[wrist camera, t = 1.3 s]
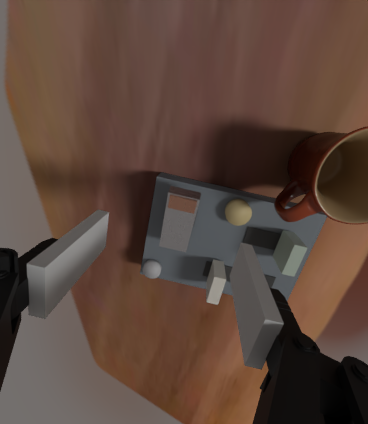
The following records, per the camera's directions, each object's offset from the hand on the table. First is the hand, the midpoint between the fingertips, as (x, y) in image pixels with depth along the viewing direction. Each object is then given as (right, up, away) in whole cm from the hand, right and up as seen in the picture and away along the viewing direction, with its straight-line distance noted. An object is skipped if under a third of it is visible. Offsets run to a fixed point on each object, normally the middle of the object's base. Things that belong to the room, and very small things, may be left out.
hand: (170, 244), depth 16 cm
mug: (+16, +8, +15) cm, 23 cm away
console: (+7, -2, +19) cm, 20 cm away
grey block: (+14, -2, +14) cm, 20 cm away
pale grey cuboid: (+5, -6, +17) cm, 19 cm away
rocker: (0, +1, +12) cm, 12 cm away
